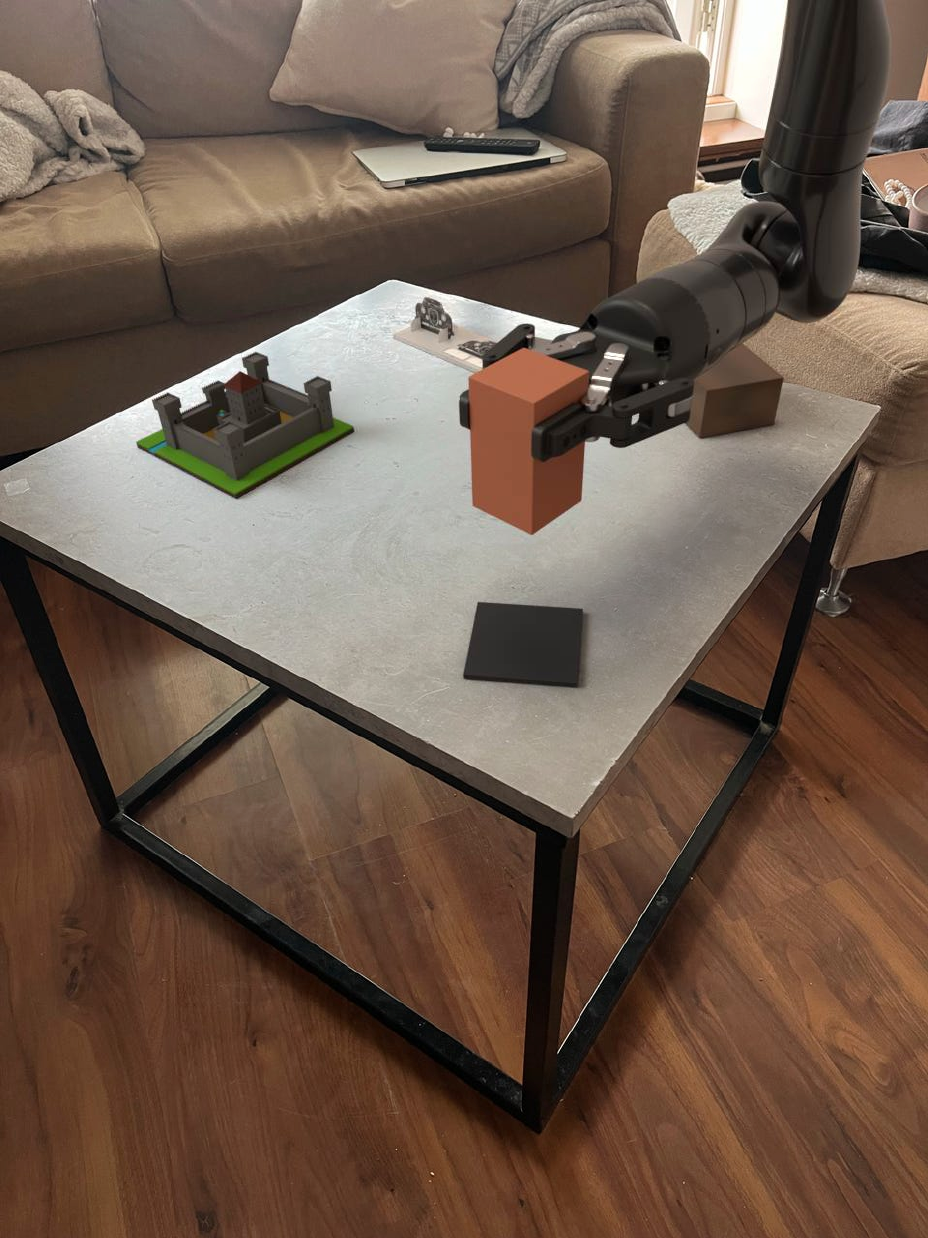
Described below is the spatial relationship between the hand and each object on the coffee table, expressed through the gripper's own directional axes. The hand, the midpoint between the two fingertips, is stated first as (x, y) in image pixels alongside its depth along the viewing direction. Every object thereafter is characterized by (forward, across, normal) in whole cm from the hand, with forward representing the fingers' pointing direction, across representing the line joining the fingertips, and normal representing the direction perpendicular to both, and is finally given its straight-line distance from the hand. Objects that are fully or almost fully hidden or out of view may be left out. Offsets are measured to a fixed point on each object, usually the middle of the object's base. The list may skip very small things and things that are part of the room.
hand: (500, 429), depth 54 cm
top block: (-3, 0, +6) cm, 7 cm away
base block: (-41, -8, +19) cm, 46 cm away
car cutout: (-36, -38, +19) cm, 55 cm away
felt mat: (-3, 0, +19) cm, 19 cm away
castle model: (-7, -40, +19) cm, 45 cm away
